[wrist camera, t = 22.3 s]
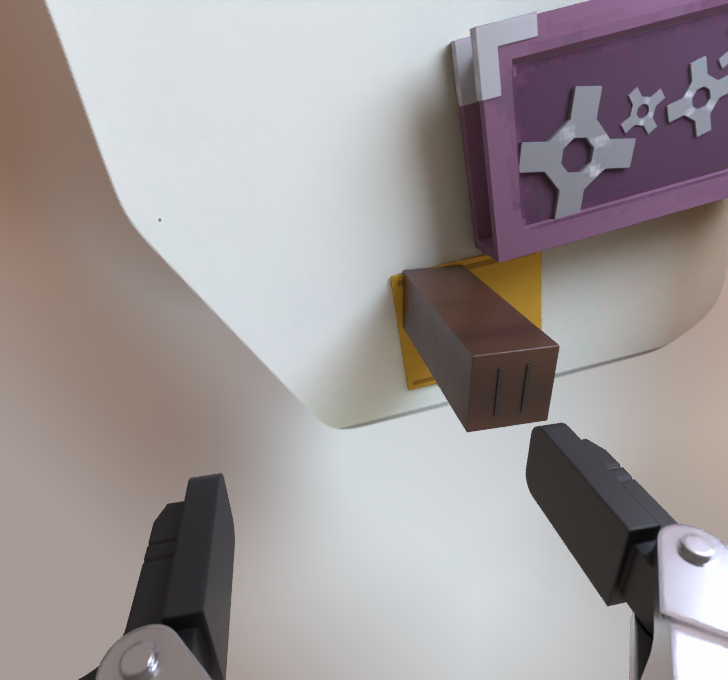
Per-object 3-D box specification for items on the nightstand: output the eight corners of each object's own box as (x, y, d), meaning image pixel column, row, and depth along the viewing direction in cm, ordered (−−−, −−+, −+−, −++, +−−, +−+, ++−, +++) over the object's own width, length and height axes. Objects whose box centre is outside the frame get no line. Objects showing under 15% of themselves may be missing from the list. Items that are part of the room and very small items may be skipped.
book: (766, -44, 37) (834, -64, 32) (735, 172, 44) (788, 180, 40) (448, 36, 35) (475, 26, 31) (473, 246, 43) (498, 263, 38)
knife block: (459, 320, 45) (548, 421, 31) (402, 327, 44) (467, 433, 30) (462, 264, 43) (561, 346, 29) (402, 270, 42) (473, 357, 28)
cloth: (408, 388, 48) (408, 390, 48) (390, 276, 42) (391, 277, 42) (540, 355, 49) (541, 356, 49) (539, 241, 44) (541, 242, 43)
